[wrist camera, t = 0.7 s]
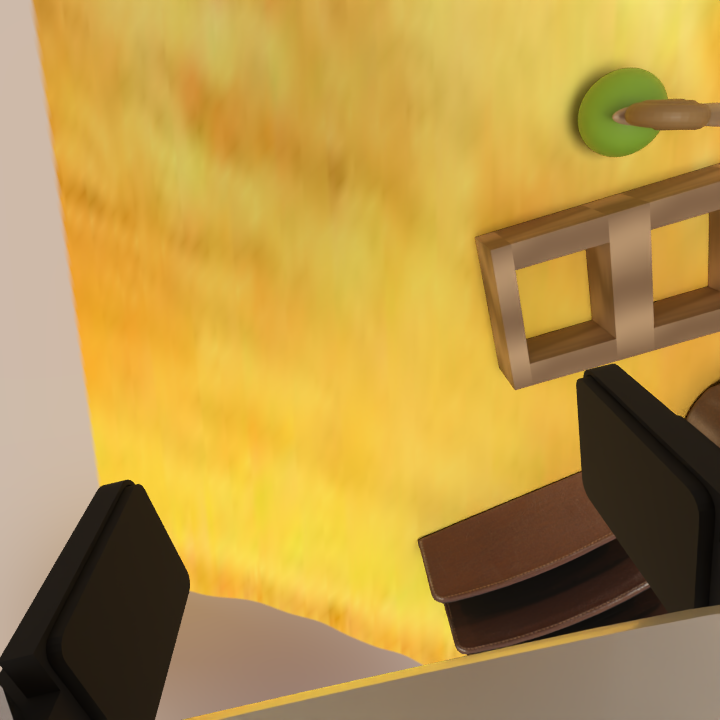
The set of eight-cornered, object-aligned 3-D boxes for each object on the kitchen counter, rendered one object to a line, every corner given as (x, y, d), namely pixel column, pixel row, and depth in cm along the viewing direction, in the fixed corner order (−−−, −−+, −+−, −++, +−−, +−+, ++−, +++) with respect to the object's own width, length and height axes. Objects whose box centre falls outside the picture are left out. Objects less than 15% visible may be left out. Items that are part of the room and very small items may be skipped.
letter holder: (621, 527, 57) (710, 649, 44) (450, 595, 59) (488, 729, 47) (599, 460, 53) (690, 574, 40) (416, 537, 55) (447, 667, 42)
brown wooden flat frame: (475, 237, 41) (490, 250, 38) (729, 160, 41) (770, 166, 37) (499, 367, 47) (515, 390, 43) (725, 302, 46) (760, 319, 42)
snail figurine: (643, 151, 40) (766, 170, 29) (559, 154, 39) (653, 175, 29) (659, 68, 37) (800, 56, 27) (570, 71, 37) (677, 59, 26)
